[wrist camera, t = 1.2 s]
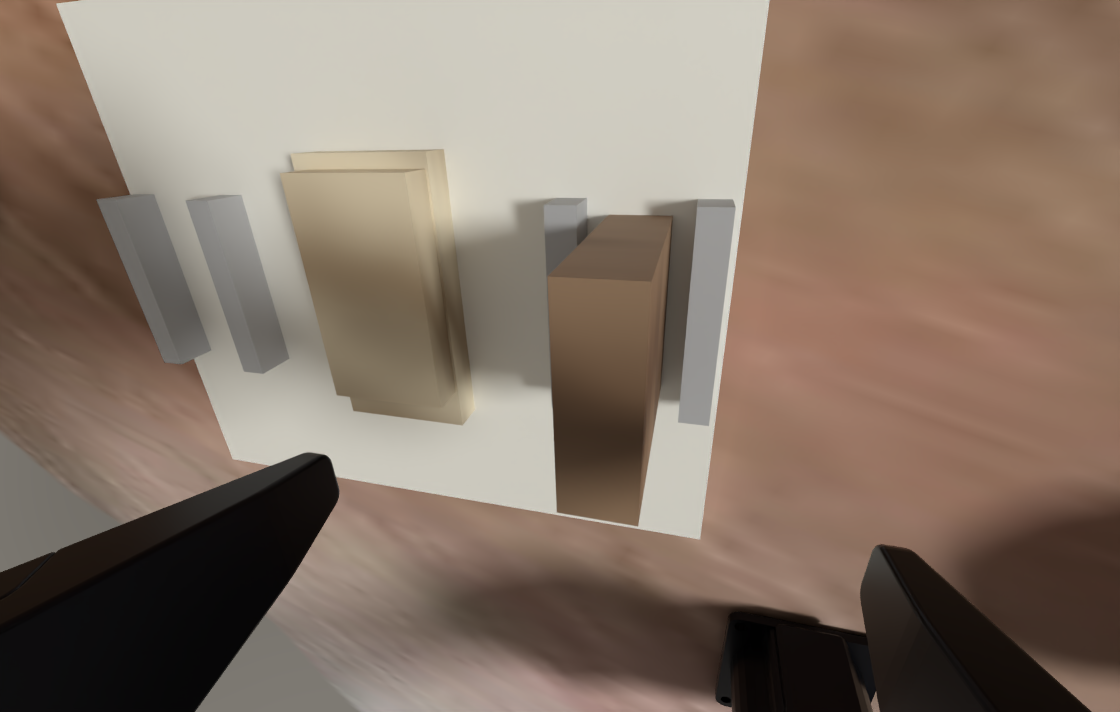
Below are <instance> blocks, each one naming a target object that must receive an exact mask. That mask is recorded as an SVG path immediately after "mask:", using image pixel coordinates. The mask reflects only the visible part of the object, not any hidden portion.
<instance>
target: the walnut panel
mask: <svg viewBox="0 0 1120 712" xmlns="http://www.w3.org/2000/svg"><path fill="white" fill-rule="evenodd" d="M672 223H673V216H661V215H608V216H607V217H606V218H605V219H604V220H603V221H602V222H601V223H600V224H599V225H598V226H597V227H596V228H595V229H594V230H593V231H592V232H591V233H590V234H589V235H588V236H587V237H586V238H585V239H584V240H583V241H582V242H581V243H580V244H579V245H578V246H577V247H576V248H575V249H574V250H573V251H572V252H571V253H570V254H569V255H568V256H567V257H566V258H565V259H564V260H563V261H562V262H561V263H560V264H559V265H558V266H557V267H556V268H555V269H554V270H553V271H552V272H551V273H550V274H549V275H548V276H547V279H548V304H549V329H550V355H551V380H552V405H553V430H554V456H555V481H556V506H557V513H562V514H568V515H574V516H580V517H586V518H592V519H598V520H603V521H609V522H615V523H621V524H627V525H633V526H638V524H639V518H640V512H641V505H642V499H643V493H644V487H645V481H646V475H647V469H648V463H649V457H650V451H651V445H652V438H653V432H654V426H655V420H656V414H657V408H658V402H659V396H660V390H661V380H662V366H663V352H664V338H665V323H666V309H667V295H668V280H669V266H670V252H671V238H672Z"/></svg>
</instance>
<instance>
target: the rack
mask: <svg viewBox="0 0 1120 712" xmlns="http://www.w3.org/2000/svg"><path fill="white" fill-rule="evenodd" d="M57 7H58V10H59V12H60V15H61V17H62V20H63V22H64V25H65V28H66V30H67V33H68V35H69V38H70V41H71V43H72V46H73V48H74V51H75V53H76V56H77V59H78V61H79V64H80V66H81V69H82V71H83V74H84V77H85V79H86V82H87V84H88V87H89V89H90V92H91V95H92V97H93V100H94V102H95V105H96V108H97V110H98V113H99V115H100V118H101V120H102V123H103V126H104V128H105V131H106V133H107V136H108V138H109V141H110V144H111V146H112V149H113V151H114V154H115V157H116V159H117V162H118V164H119V167H120V169H121V172H122V175H123V177H124V180H125V182H126V185H127V187H128V190H129V193H130V195H126V196H118V197H111V198H103V199H96V200H97V202H98V205H99V207H100V210H101V212H102V214H103V217H104V219H105V222H106V224H107V226H108V229H109V231H110V233H111V236H112V238H113V241H114V243H115V245H116V248H117V250H118V253H119V255H120V257H121V260H122V262H123V265H124V267H125V269H126V272H127V274H128V277H129V279H130V281H131V284H132V286H133V289H134V291H135V293H136V296H137V298H138V300H139V303H140V305H141V308H142V310H143V312H144V315H145V317H146V320H147V322H148V324H149V327H150V329H151V332H152V334H153V336H154V339H155V341H156V344H157V346H158V348H159V351H160V353H161V355H162V358H163V360H164V362H166V363H175V364H184V363H186V362H188V361H190V360H192V359H194V360H195V363H196V365H197V368H198V371H199V373H200V376H201V378H202V381H203V383H204V386H205V389H206V391H207V394H208V396H209V399H210V401H211V404H212V407H213V409H214V412H215V414H216V417H217V420H218V422H219V425H220V427H221V430H222V432H223V435H224V438H225V440H226V443H227V445H228V448H229V450H230V453H231V456H232V458H233V459H235V460H241V461H247V462H253V463H258V464H264V465H270V466H272V465H274V464H277V463H279V462H282V461H284V460H287V459H290V458H292V457H295V456H297V455H300V454H302V453H306V452H312V453H319V454H324V455H327V456H328V457H329V458H330V459H331V461H332V465H333V468H334V472H335V475H336V477H340V478H346V479H351V480H357V481H363V482H369V483H375V484H381V485H386V486H392V487H398V488H404V489H410V490H415V491H421V492H427V493H433V494H439V495H444V496H450V497H456V498H462V499H468V500H474V501H479V502H485V503H491V504H497V505H503V506H508V507H514V508H520V509H526V510H532V511H537V512H543V513H549V514H555V515H561V516H567V517H572V518H578V519H584V520H590V521H596V522H601V523H607V524H613V525H619V526H625V527H631V528H636V529H642V530H648V531H654V532H660V533H665V534H671V535H677V536H683V537H689V538H694V539H700V535H701V527H702V520H703V512H704V504H705V496H706V488H707V481H708V473H709V465H710V457H711V450H712V442H713V434H714V426H715V419H716V411H717V403H718V395H719V388H720V380H721V372H722V364H723V357H724V349H725V341H726V333H727V326H728V318H729V310H730V302H731V294H732V287H733V279H734V271H735V263H736V256H737V248H738V240H739V232H740V225H741V217H742V209H743V201H744V194H745V186H746V178H747V170H748V163H749V155H750V147H751V139H752V131H753V124H754V116H755V108H756V100H757V93H758V85H759V77H760V69H761V62H762V54H763V46H764V38H765V31H766V23H767V15H768V7H769V0H82V1H74V2H66V3H58V4H57ZM431 149H444V154H445V163H446V171H447V180H448V188H449V196H450V205H451V213H452V221H453V230H454V238H455V247H456V255H457V263H458V272H459V280H460V288H461V297H462V305H463V314H464V322H465V330H466V339H467V347H468V355H469V364H470V372H471V381H472V389H473V397H474V406H475V410H474V412H473V413H472V414H471V415H470V417H469V418H468V419H467V420H466V422H465V423H464V424H463V425H455V424H448V423H440V422H433V421H425V420H418V419H410V418H402V417H395V416H387V415H380V414H372V413H365V412H357V411H353V408H352V404H351V400H350V397H346V396H338V395H337V394H336V390H335V386H334V383H333V379H332V375H331V371H330V367H329V363H328V359H327V355H326V351H325V348H324V344H323V340H322V336H321V332H320V328H319V324H318V320H317V317H316V313H315V309H314V305H313V301H312V297H311V293H310V289H309V285H308V282H307V278H306V274H305V270H304V266H303V262H302V258H301V254H300V251H299V247H298V243H297V239H296V235H295V231H294V227H293V223H292V219H291V216H290V212H289V208H288V204H287V200H286V196H285V192H284V188H283V184H282V181H281V177H280V173H285V172H293V171H294V167H293V163H292V159H291V155H290V154H293V153H304V152H316V151H374V150H431ZM608 215H661V216H673V223H672V238H671V252H670V266H669V280H668V295H667V309H666V323H665V338H664V352H663V366H662V380H661V390H660V396H659V402H658V408H657V414H656V420H655V426H654V432H653V438H652V445H651V451H650V457H649V463H648V469H647V475H646V481H645V487H644V493H643V499H642V505H641V512H640V518H639V524H638V526H633V525H627V524H621V523H615V522H609V521H603V520H598V519H592V518H586V517H580V516H574V515H568V514H562V513H557V506H556V481H555V456H554V430H553V405H552V380H551V355H550V329H549V304H548V279H547V276H548V275H549V274H550V273H551V272H552V271H553V270H554V269H555V268H556V267H557V266H558V265H559V264H560V263H561V262H562V261H563V260H564V259H565V258H566V257H567V256H568V255H569V254H570V253H571V252H572V251H573V250H574V249H575V248H576V247H577V246H578V245H579V244H580V243H581V242H582V241H583V240H584V239H585V238H586V237H587V236H588V235H589V234H590V233H591V232H592V231H593V230H594V229H595V228H596V227H597V226H598V225H599V224H600V223H601V222H602V221H603V220H604V219H605V218H606V217H607V216H608Z"/></svg>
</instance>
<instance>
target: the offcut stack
mask: <svg viewBox="0 0 1120 712" xmlns="http://www.w3.org/2000/svg"><path fill="white" fill-rule="evenodd" d="M290 155H291V159H292V163H293V167H294V171H293V172H285V173H280V177H281V181H282V184H283V188H284V192H285V196H286V200H287V204H288V208H289V212H290V216H291V219H292V223H293V227H294V231H295V235H296V239H297V243H298V247H299V251H300V254H301V258H302V262H303V266H304V270H305V274H306V278H307V282H308V285H309V289H310V293H311V297H312V301H313V305H314V309H315V313H316V317H317V320H318V324H319V328H320V332H321V336H322V340H323V344H324V348H325V351H326V355H327V359H328V363H329V367H330V371H331V375H332V379H333V383H334V386H335V390H336V394H337V395H338V396H346V397H350V400H351V404H352V408H353V411H357V412H365V413H372V414H380V415H387V416H395V417H402V418H410V419H418V420H425V421H433V422H440V423H448V424H455V425H463V424H464V423H465V422H466V420H467V419H468V418H469V417H470V415H471V414H472V413H473V412H474V410H475V406H474V397H473V389H472V381H471V372H470V364H469V355H468V347H467V339H466V330H465V322H464V314H463V305H462V297H461V288H460V280H459V272H458V263H457V255H456V247H455V238H454V230H453V221H452V213H451V205H450V196H449V188H448V180H447V171H446V163H445V154H444V149H431V150H374V151H316V152H304V153H293V154H290Z"/></svg>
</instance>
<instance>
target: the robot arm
mask: <svg viewBox="0 0 1120 712" xmlns="http://www.w3.org/2000/svg"><path fill="white" fill-rule="evenodd" d="M338 498H339V486H338V483H337V479H336V475H335V472H334V468H333V465H332V461H331V459H330V458H329V457H328V456H327V455H324V454H319V453H312V452H306V453H302V454H300V455H297V456H295V457H292V458H290V459H287V460H284V461H282V462H279V463H277V464H274V465H272V466H269V467H267V468H264V469H262V470H259V471H257V472H254V473H252V474H249V475H247V476H244V477H241V478H239V479H236V480H234V481H231V482H229V483H226V484H224V485H221V486H219V487H216V488H214V489H211V490H209V491H206V492H203V493H201V494H198V495H196V496H193V497H191V498H188V499H186V500H183V501H181V502H178V503H176V504H173V505H171V506H168V507H166V508H163V509H160V510H158V511H155V512H153V513H150V514H148V515H145V516H143V517H140V518H138V519H135V520H133V521H130V522H128V523H125V524H122V525H120V526H118V527H115V528H112V529H110V530H108V531H105V532H102V533H100V534H97V535H95V536H92V537H90V538H87V539H85V540H82V541H80V542H77V543H74V544H72V545H69V546H67V547H64V548H62V549H60V550H58V551H57V552H56V553H55V552H52V553H49V554H46V555H44V556H41V557H39V558H36V559H34V560H31V561H29V562H26V563H24V564H21V565H18V566H16V567H13V568H11V569H8V570H5V571H3V572H0V712H195V711H196V710H197V708H198V707H199V706H200V704H201V703H202V701H203V700H204V698H205V697H206V696H207V694H208V693H209V692H210V690H211V689H212V687H213V686H214V685H215V683H216V682H217V681H218V679H219V678H220V677H221V675H222V674H223V672H224V671H225V670H226V668H227V667H228V665H229V664H230V663H231V661H232V660H233V658H234V657H235V656H236V654H237V653H238V652H239V650H240V649H241V647H242V646H243V644H244V643H245V642H246V641H247V639H248V638H249V636H250V635H251V634H252V632H253V631H254V630H255V628H256V627H257V625H258V624H259V622H260V621H261V620H262V618H263V617H264V616H265V614H266V613H267V612H268V610H269V609H270V607H271V606H272V605H273V603H274V602H275V600H276V599H277V598H278V596H279V595H280V594H281V592H282V591H283V589H284V588H285V586H286V585H287V584H288V582H289V581H290V579H291V578H292V576H293V575H294V573H295V572H296V570H297V568H298V567H299V565H300V563H301V562H302V560H303V558H304V557H305V555H306V553H307V552H308V550H309V548H310V547H311V545H312V543H313V542H314V540H315V538H316V537H317V535H318V533H319V532H320V530H321V528H322V527H323V525H324V523H325V522H326V520H327V518H328V517H329V515H330V513H331V512H332V510H333V508H334V507H335V505H336V503H337V501H338ZM860 599H861V606H862V612H863V618H864V624H865V629H866V635H867V638H866V637H862V636H857V635H852V634H847V633H842V632H837V631H832V630H827V629H822V628H817V627H812V626H807V625H802V624H797V623H793V622H788V621H783V620H778V619H773V618H768V617H763V616H758V615H753V614H748V613H743V612H733V613H731V614H730V615H729V617H728V622H727V627H726V633H725V638H724V644H723V650H722V655H721V661H720V666H719V672H718V677H717V683H716V689H715V695H716V700H717V702H718V703H720V704H721V705H724V706H728V707H732V712H873V710H872V707H871V702H872V699H873V697H874V694H875V692H876V693H877V699H878V704H879V709H880V712H1091V711H1090V710H1089V709H1088V708H1087V707H1086V706H1085V705H1084V704H1082V703H1081V702H1080V701H1079V700H1078V699H1077V698H1076V697H1075V696H1074V695H1072V694H1071V693H1070V692H1069V691H1068V690H1067V689H1066V688H1065V687H1064V686H1062V685H1061V684H1060V683H1059V682H1058V681H1057V680H1056V679H1055V678H1054V677H1053V676H1051V675H1050V674H1049V673H1048V672H1047V671H1046V670H1045V669H1044V668H1043V667H1041V666H1040V665H1039V664H1038V663H1037V662H1036V661H1035V660H1034V659H1033V658H1031V657H1030V656H1029V655H1028V654H1027V653H1026V652H1025V651H1024V650H1023V649H1021V648H1020V647H1019V646H1018V645H1017V644H1016V643H1015V642H1014V641H1013V640H1011V639H1010V638H1009V637H1008V636H1007V635H1006V634H1005V633H1004V632H1003V631H1001V630H1000V629H999V628H998V627H997V626H996V625H995V624H994V623H993V622H991V621H990V620H989V619H988V618H987V617H986V616H985V615H984V614H983V613H981V612H980V611H979V610H978V609H977V608H976V607H975V606H974V605H973V604H972V603H970V602H969V601H968V600H967V599H966V598H965V597H964V596H963V595H962V594H960V593H959V592H958V591H957V590H956V589H955V588H954V587H953V586H952V585H950V584H949V583H948V582H947V581H946V580H945V579H944V578H943V577H942V576H940V575H939V574H938V573H937V572H936V571H935V570H934V569H933V568H932V567H930V566H929V565H928V564H927V563H926V562H925V561H924V560H923V559H922V558H920V557H919V556H918V555H917V554H916V553H915V552H913V551H912V550H910V549H907V548H902V547H896V546H890V545H883V544H880V545H877V546H876V547H875V548H874V549H873V551H872V554H871V557H870V560H869V563H868V566H867V569H866V572H865V575H864V578H863V581H862V584H861V589H860Z"/></svg>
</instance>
